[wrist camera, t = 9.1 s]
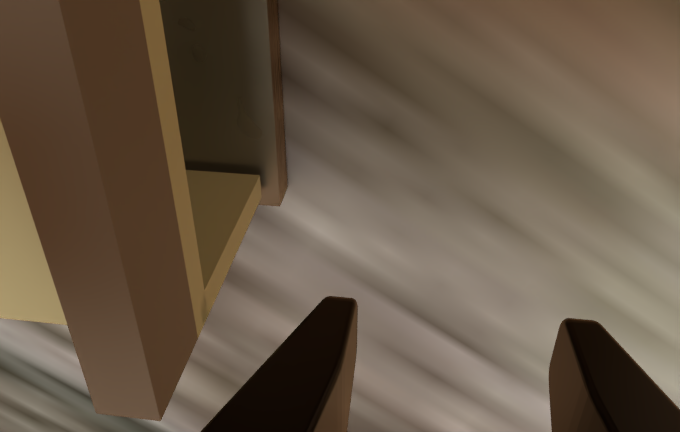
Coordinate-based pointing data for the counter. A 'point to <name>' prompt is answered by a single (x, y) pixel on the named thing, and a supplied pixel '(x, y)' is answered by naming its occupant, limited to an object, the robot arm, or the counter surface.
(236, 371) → the counter surface
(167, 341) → the cover
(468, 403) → the counter surface
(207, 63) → the housing base
